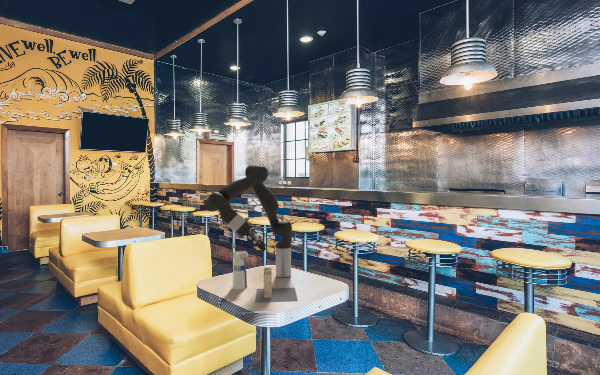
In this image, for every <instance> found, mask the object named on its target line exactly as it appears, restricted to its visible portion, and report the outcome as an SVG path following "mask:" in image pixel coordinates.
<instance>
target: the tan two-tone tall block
mask: <svg viewBox="0 0 600 375" xmlns="http://www.w3.org/2000/svg"><path fill="white" fill-rule="evenodd" d="M272 274H273V272H272V267H264V269H263V289H264V298H269V297H272V288H273V286H272V283H273V282H272V278H273V277H272Z"/></svg>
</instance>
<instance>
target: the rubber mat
mask: <svg viewBox="0 0 600 375" xmlns="http://www.w3.org/2000/svg"><path fill="white" fill-rule="evenodd" d="M298 301H299V300H298V296H297V292H296V288H295V287H274V288H273V287H272V297H269V298H264V288H256V292H255V300H254V303H255V304H256V303H258V304H260V303H283V302H284V303H287V302H298Z"/></svg>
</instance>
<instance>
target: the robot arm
mask: <svg viewBox="0 0 600 375" xmlns="http://www.w3.org/2000/svg"><path fill="white" fill-rule="evenodd" d="M244 175H245V177H244V178H240V179H238V180H235V181H232V182H230V183H229V184H227V185H225V186H223V188H221V189H220V190H219V191H218V192H211V193H210V195H209V196H208V197H207V199H206V200H205V203H204V207H205V209H206V211H208V212H212V213H213V212H216V211H218V212H219V214H220V215H219V218H220V219H221V220H222V221H223V222H224V223H225V224H227V226H228V227H229V228H230V229H231V230H232V231H233V232H234V233H236V235H238V237H240V238H241V239H243V238H245V237H246V239H247V240H248V241H249V242H250V243H251V244H252V245H253V246H254V247H255V248H257V249H259V250H260V251H261V252H265V251H266V250H267V248H266V246H267V245H266V243H265V242H264V241H263V240H262V239H261V238H260V236H259V235H258V234H256V233H255V232H254V231H253V230H252V229H253V225H252V224H251V223H250V222H248V220H246V219H245V218H244V217H243V216H242V215H240V213H238V212H237V211H236V210H235V209H234V208H232V206H231V205H230V203H229V202H230V201H232V200H233V199H235V198H236V197H237V196H239V195H240V194H242V193H243V192H246V191H247V190H249V189H251V188H252V189H253V191H254V193H255V195H256V196H257V199H258V202H259V203H260V205H261V207H262V209H263V211H264V212H265V214H266V217H267V219H268V222H269V224H270V227H271V229H272V232H273V235H275V236H277V237H282V240H281V241H278V242H276V243H275V277H277V278H289V277H292V242H293V239H292V238H293V226H292V223H291V222H290V221H288V220H287V221H286V220H280V219H279V218H278V211H279V208H280V206H279V202H278V201H279V200H278V199H277V197H276V195H275V194H274V192H272V191H271V190H270V189H269V188H268V187H267V186H266V185H265V184H264V182H265V181H266V180H267V179H268V177H269V170H268V168H267V167H265V166H264V165H259V164H258V165H256V164H250V165H247V167H246V168H245V174H244Z"/></svg>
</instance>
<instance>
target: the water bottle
mask: <svg viewBox="0 0 600 375" xmlns="http://www.w3.org/2000/svg"><path fill="white" fill-rule="evenodd" d="M231 246H232V249H234V250H235V249H236V246H237V245H236V244H235V242H233V243H232V244H231ZM248 256H249V254H248V251H246V250H237V251H233V252H232V260H233V263H232V265H233V271H232V289H233V290H239V291H240V290H245V289H247V288H248V279H247V276H248V275H247V270H246V268H247V267H246V264H247V262H246V258H247V257H248Z"/></svg>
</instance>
